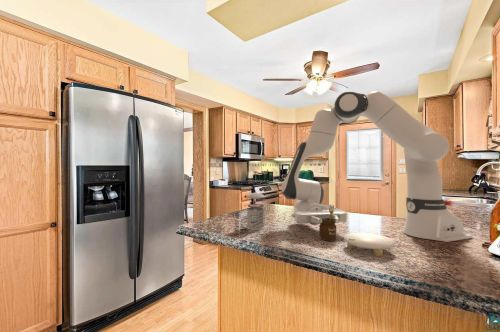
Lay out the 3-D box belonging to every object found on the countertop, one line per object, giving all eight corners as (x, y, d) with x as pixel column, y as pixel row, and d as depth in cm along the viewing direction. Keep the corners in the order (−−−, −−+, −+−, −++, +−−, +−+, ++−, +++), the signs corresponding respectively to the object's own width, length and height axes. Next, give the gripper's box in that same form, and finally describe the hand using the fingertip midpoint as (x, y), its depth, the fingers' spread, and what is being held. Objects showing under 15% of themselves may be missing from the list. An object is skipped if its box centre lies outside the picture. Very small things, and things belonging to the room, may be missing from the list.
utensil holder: (316, 238, 89) (316, 205, 89) (324, 235, 93) (324, 203, 93) (331, 242, 84) (331, 207, 84) (339, 238, 89) (339, 205, 89)
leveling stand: (373, 241, 86) (373, 231, 86) (404, 256, 72) (404, 243, 72) (336, 243, 84) (336, 233, 84) (360, 259, 70) (360, 246, 70)
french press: (241, 226, 109) (241, 170, 109) (263, 223, 114) (263, 170, 114) (250, 231, 101) (250, 171, 101) (274, 228, 105) (274, 170, 105)
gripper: (289, 206, 100) (301, 213, 86) (336, 205, 103) (354, 211, 89) (289, 222, 100) (301, 231, 86) (336, 220, 103) (354, 228, 89)
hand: (328, 221), depth 88 cm, fingers closed on utensil holder, 5 cm apart
